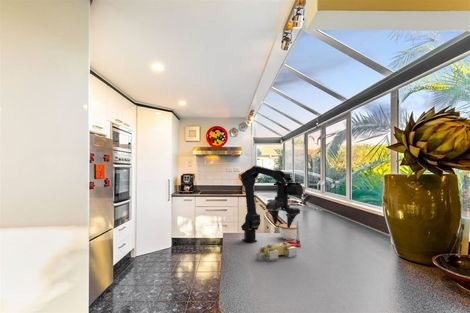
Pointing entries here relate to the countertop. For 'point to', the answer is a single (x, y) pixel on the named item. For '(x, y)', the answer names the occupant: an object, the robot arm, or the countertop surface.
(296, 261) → the countertop surface
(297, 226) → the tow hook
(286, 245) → the link
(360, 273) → the countertop surface
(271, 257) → the chain ends
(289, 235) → the lidded jar
